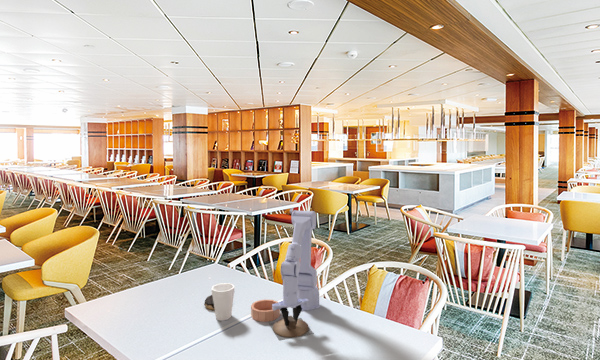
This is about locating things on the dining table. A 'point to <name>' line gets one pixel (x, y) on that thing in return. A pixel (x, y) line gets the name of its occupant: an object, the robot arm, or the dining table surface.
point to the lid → (290, 328)
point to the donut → (209, 303)
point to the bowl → (264, 311)
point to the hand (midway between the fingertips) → (290, 324)
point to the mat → (290, 337)
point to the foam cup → (223, 300)
